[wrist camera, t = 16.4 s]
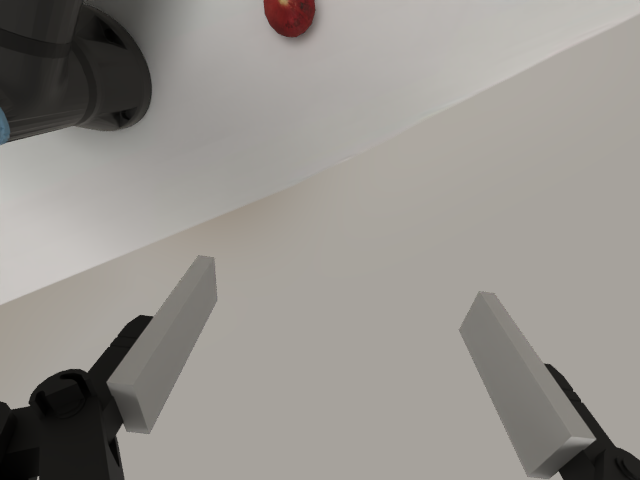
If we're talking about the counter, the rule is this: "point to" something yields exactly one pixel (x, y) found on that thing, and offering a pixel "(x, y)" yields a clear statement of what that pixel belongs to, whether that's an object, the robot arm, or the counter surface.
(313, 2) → the onion
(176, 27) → the counter surface
